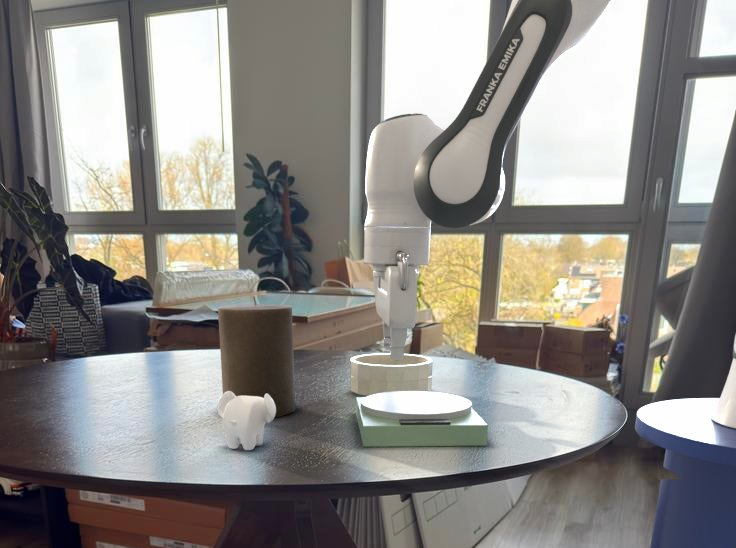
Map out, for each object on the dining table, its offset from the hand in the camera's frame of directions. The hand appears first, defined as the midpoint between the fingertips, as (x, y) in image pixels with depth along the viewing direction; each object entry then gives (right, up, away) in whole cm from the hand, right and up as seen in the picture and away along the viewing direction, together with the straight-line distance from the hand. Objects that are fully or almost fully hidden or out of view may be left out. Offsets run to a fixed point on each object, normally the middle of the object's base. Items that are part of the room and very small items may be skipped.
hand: (393, 354), depth 102 cm
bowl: (0, -4, +8) cm, 9 cm away
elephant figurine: (-18, -15, -21) cm, 31 cm away
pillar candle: (-18, -9, -4) cm, 21 cm away
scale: (+2, -12, -14) cm, 18 cm away
